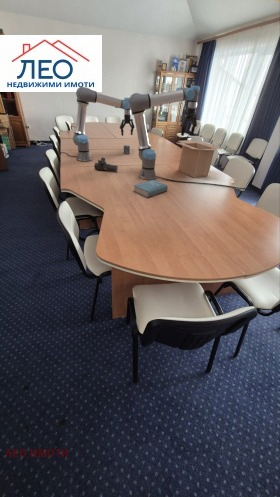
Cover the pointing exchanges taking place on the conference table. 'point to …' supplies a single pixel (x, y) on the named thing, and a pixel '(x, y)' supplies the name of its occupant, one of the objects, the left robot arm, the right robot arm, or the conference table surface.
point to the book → (150, 188)
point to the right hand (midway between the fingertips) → (187, 135)
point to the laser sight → (105, 166)
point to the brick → (126, 149)
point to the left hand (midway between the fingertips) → (127, 135)
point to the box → (196, 158)
